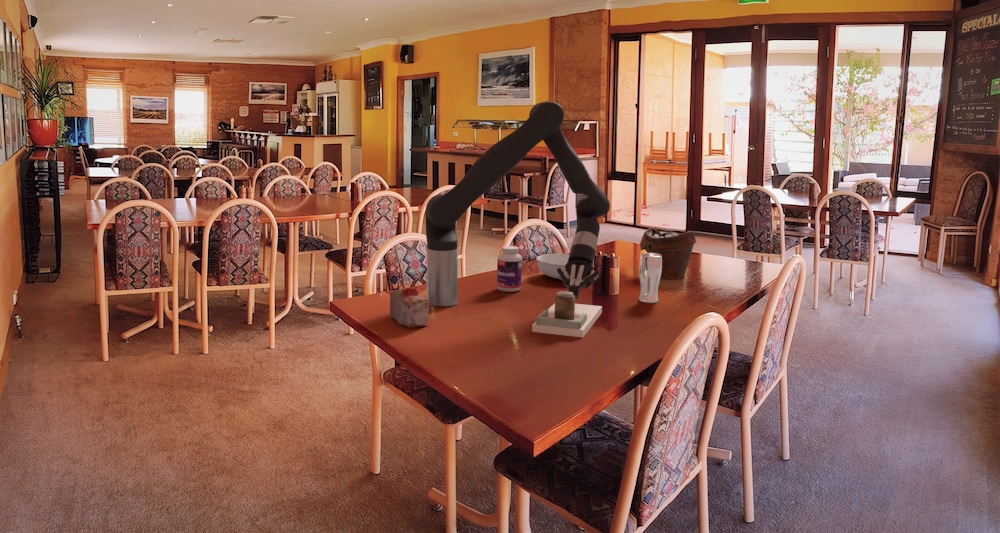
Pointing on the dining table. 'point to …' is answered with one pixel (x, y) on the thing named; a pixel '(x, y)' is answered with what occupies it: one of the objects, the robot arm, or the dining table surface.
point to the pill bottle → (509, 269)
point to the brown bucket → (670, 250)
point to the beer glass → (650, 276)
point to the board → (567, 321)
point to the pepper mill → (564, 305)
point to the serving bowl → (553, 264)
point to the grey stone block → (409, 308)
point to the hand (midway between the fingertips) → (572, 298)
